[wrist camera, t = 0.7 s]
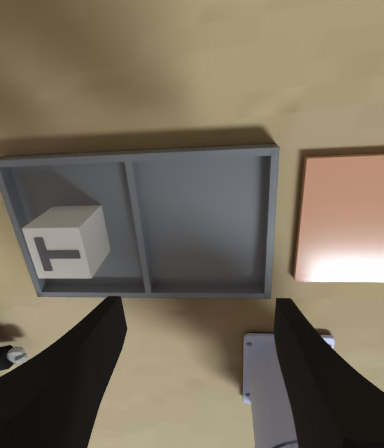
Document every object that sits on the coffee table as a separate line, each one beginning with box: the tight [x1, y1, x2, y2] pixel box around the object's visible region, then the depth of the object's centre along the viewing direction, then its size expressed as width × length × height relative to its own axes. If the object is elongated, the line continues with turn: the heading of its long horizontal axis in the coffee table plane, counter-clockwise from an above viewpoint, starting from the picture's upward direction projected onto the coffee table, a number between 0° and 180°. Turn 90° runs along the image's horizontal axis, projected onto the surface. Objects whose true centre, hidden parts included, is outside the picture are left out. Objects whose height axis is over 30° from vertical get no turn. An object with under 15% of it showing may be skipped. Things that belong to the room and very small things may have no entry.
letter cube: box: [22, 205, 111, 278], centre depth 22 cm, size 4×4×4 cm
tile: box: [293, 153, 384, 282], centre depth 21 cm, size 10×10×1 cm
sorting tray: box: [0, 143, 280, 299], centre depth 23 cm, size 12×20×2 cm, turn 94°
